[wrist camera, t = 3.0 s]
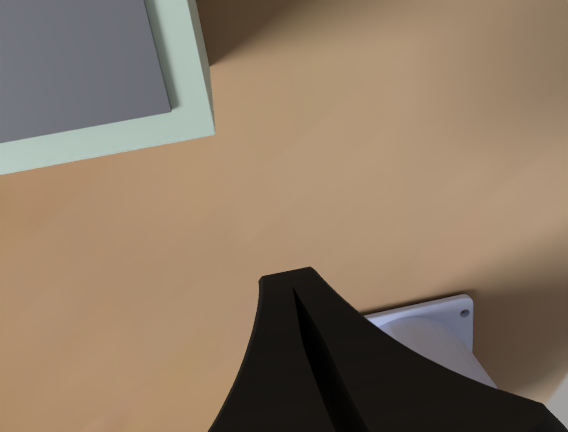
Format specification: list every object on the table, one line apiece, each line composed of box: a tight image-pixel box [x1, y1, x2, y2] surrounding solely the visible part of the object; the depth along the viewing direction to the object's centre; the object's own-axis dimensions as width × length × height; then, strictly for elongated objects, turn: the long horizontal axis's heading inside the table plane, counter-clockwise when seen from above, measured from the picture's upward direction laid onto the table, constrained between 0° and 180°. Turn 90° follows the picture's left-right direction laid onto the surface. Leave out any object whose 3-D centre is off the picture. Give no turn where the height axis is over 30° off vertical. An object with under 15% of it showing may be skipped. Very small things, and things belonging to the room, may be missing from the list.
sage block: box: [0, 0, 216, 175], centre depth 14 cm, size 5×6×10 cm
